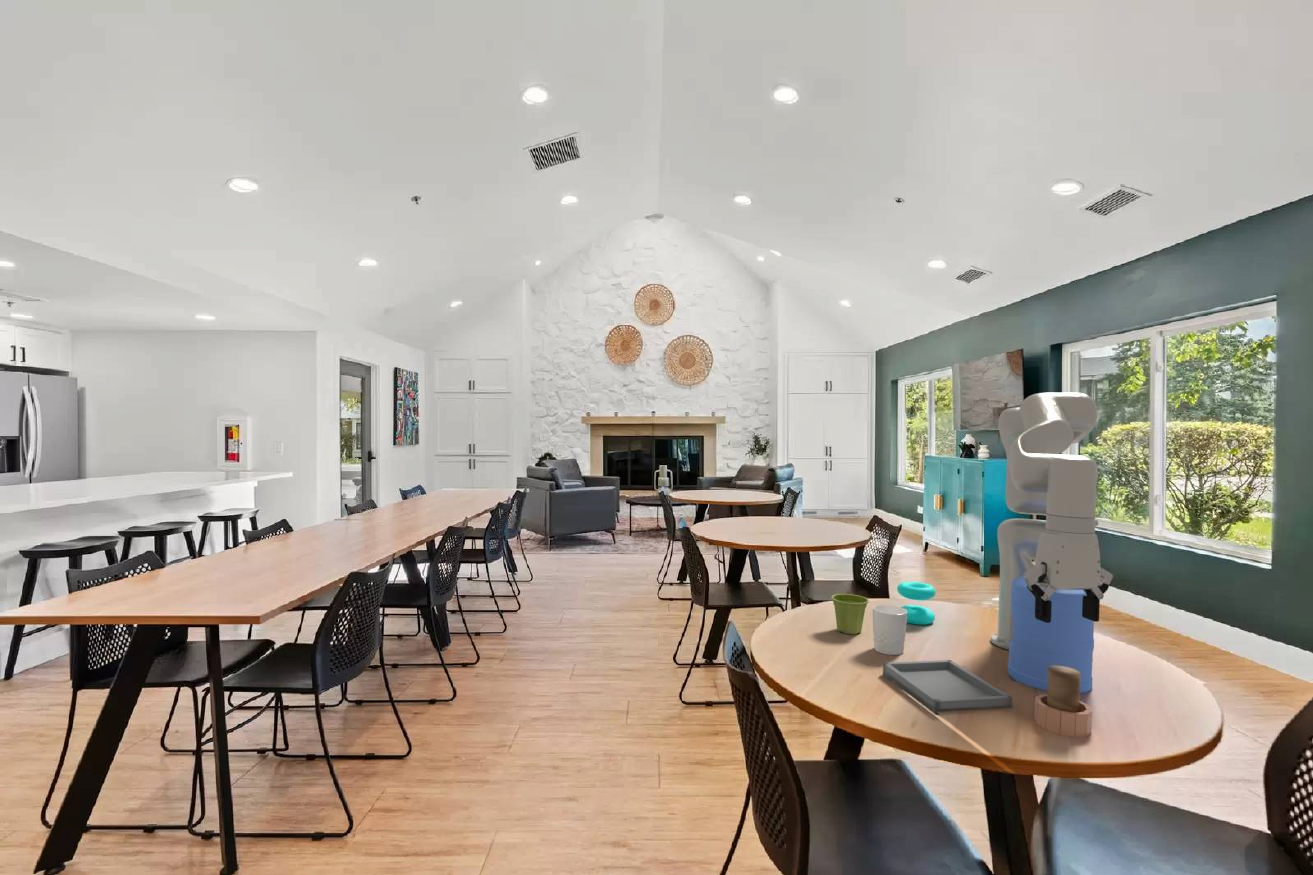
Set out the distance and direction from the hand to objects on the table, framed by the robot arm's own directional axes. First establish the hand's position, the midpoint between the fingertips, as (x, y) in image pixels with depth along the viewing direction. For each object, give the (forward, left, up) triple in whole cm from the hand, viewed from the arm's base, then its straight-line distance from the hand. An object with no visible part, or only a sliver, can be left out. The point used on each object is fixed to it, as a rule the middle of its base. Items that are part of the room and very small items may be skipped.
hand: (1066, 620), depth 120 cm
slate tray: (+12, -18, -20) cm, 30 cm away
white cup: (+11, -42, -20) cm, 48 cm away
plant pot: (+14, -57, -20) cm, 62 cm away
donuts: (-9, -64, -20) cm, 68 cm away
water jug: (-14, -20, -20) cm, 32 cm away
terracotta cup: (0, 0, -20) cm, 20 cm away
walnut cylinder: (0, 0, -19) cm, 19 cm away
